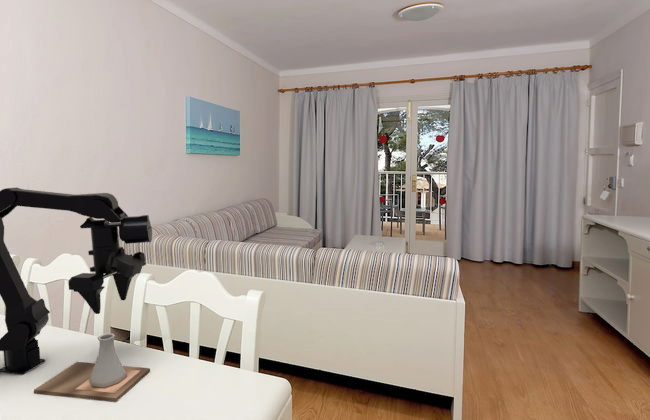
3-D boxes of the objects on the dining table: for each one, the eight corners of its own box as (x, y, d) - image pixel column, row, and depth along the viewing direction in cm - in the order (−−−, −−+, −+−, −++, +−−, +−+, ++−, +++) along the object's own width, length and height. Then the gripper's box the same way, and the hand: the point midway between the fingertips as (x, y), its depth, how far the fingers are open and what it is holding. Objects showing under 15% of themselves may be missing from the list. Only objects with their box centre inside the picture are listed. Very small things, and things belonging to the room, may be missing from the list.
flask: (103, 392, 81) (100, 346, 80) (82, 382, 84) (79, 339, 83) (133, 375, 88) (132, 333, 86) (113, 367, 91) (111, 327, 90)
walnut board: (34, 393, 82) (33, 389, 82) (77, 364, 94) (77, 361, 94) (116, 401, 79) (115, 397, 79) (150, 371, 91) (150, 367, 91)
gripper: (108, 254, 84) (114, 323, 86) (158, 238, 102) (162, 295, 104) (63, 253, 85) (70, 321, 87) (120, 237, 104) (124, 293, 106)
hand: (111, 306), depth 96 cm, fingers open, 9 cm apart
